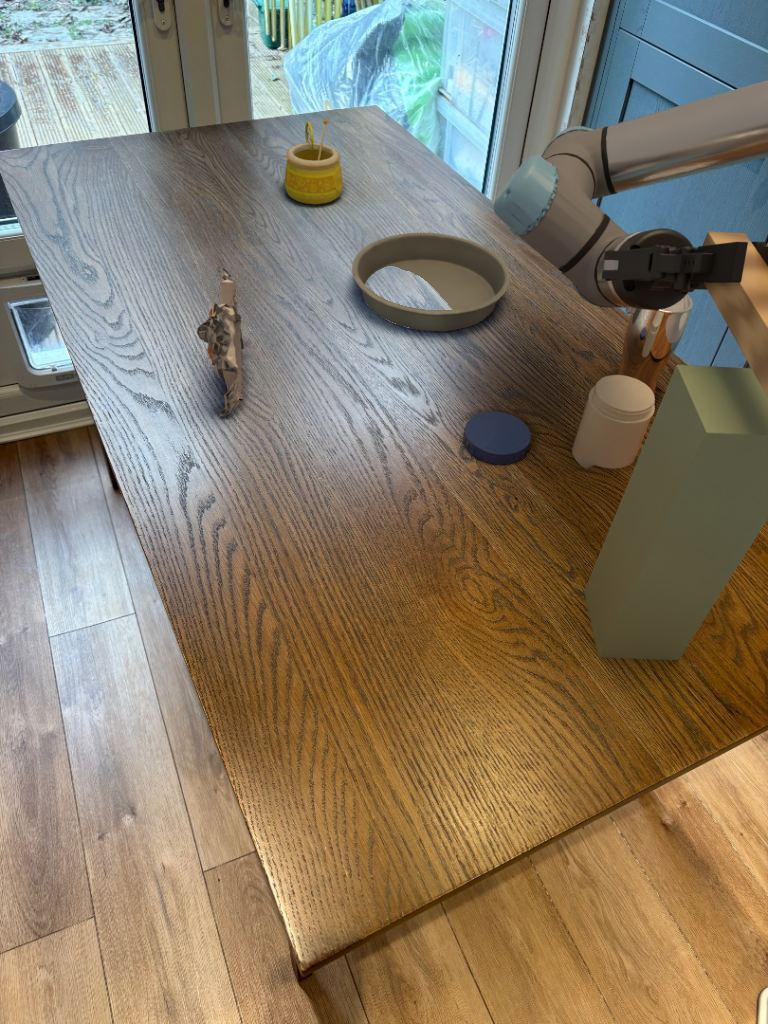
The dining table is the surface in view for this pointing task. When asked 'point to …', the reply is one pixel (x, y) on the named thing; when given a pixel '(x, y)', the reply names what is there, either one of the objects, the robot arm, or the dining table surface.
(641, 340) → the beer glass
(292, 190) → the yellow pot
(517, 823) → the dining table surface
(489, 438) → the jar lid
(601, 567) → the stand
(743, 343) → the beech stick
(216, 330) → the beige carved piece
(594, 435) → the jam jar
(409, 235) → the cake pan
